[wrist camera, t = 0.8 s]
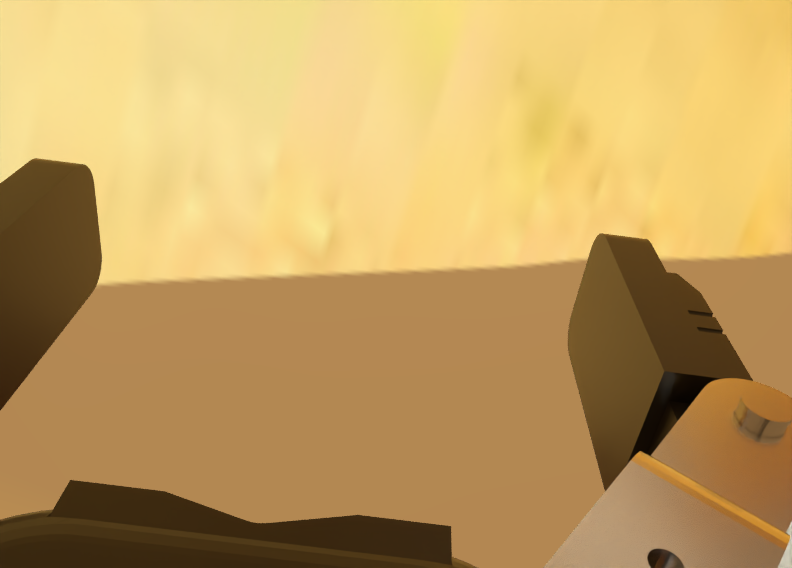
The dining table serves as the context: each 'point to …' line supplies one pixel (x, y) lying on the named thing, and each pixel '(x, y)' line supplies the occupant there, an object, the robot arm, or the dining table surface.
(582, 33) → the dining table surface
